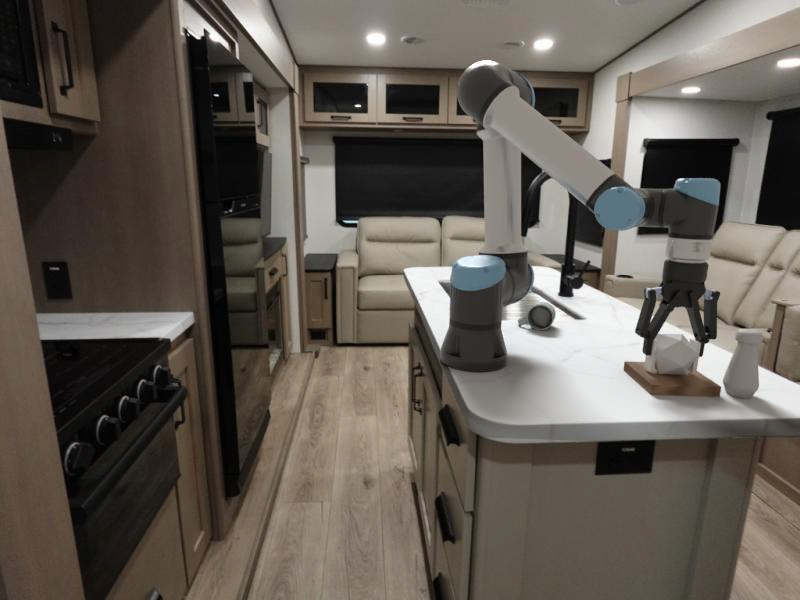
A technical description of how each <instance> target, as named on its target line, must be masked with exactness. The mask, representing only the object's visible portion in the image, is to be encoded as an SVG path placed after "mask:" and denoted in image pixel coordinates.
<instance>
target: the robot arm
mask: <svg viewBox="0 0 800 600" xmlns="http://www.w3.org/2000/svg"><path fill="white" fill-rule="evenodd" d="M457 83H458V84H457V89H456V95H457V101H458V103H459V106H460V108H461V109H462V111H463V112H464V113H465V114H466V115H467V116H469V117H470V118H471V119H473V120H474V121H476V124H475V125H476V126H475V127H476V135H477V136H478V138H480V139H481V140H482V142H483V143H482V145H483V149H482V151H483V154H482V155H483V196H484V197H483V205H484V206H483V207H484V208H483V209H484V210H483V211H484V212H483V214H484V217H483V218H484V244H483V245H482V247H481V248H479V250H478V254H476V255H473V256H470V255H468V256H463V257H460V258H458V259H457V260H455V261H454V262H453V264H452V267H451V274H450V277H449V278H450V279H449V282H450V290H449V291H450V295H449V297H450V298H449V320H448V321H449V322H448V328H447V330H446V333H445V337H444V339H443V342H442V344H441V347H440V351H439V352H440V354H439V355H440V356H439V357H440V358H439V359H440V361H441V363H442V364H444V365H446V366H448V367H450V368H452V369H456V370H462V371H467V372H468V371H469V372H490V371H497V370H500V369H503V368H504V367H506V366H507V364H508V351H507V347H506V346H507V345H506V343H505V339H504V335H503V332H502V320H503V308H505V307H507V306H511V305H512V304H516V303H518V302H520V301H521V300H523V299H524V298H525V297H526V296H527V295H529V293H530V292H531V290H532V289H533V285H534V283H535V271H534V269H533V266H532V265H531V263H530V262H529V259H528V258H529V257H528V253H529V252H528V250H529V249H528V248H527V247H526V246H525V245H524V244H523V243H522V154H523V155H524V156H525V157H526V158H528V159H529V160H531V162H533V163H534V164H535V165H536V166H538V167H539V169H541V170H542V171H543V172H545V173H546V174H547V175H548V176H549V177H550V178H552V179H553V180H555V182H557V184H558V185H560V186H561V187H563V188H564V189H565V190H566V191H567V192H568V193H570V194H571V195H572V196H573V197H574V198H575V199H576V200H578V201H579V202H580V203H582V204H583V205H584V206H585V207H586V208H588V210H589V211H590V212H592V213H593V215H594V217H595V219H596V221H597V222H598V223H599V225H601V226H602V227H603V228H605V229H606V230H611V231H612V232H613V231H614V232H615V231H616V232H618V231H619V232H623V231H628V230H632V228H637V227H642V228H643V227H645V228H663V229H664V228H668V235H667V240H666V247H665V254H664V257H666V258H667V259H665V260H664V262H663V268H662V277H661V278H662V281H661V283H660V284H659V286H657V287H649V286H646V287H645V288H644V289H643V295H644V296H643V297H644V300H643V303H642V306H641V308H640V309H641V310H640V313H639V316H638V320H637V323H636V327H635V329H634V330H635V331H634V333H635V334H636V335H637V336H638V337H640V338H643V343H642V353H643V354H644V355H645V360H644V362H645V366H644V368H646V369H647V370H648V371H649V372H654V369H655V362H656V358H655V354H654V353H655V351H656V349H657V348H658V341H656V340H655V338H656V336H657V334H660V332H661V329H662V327H663V326H664V324H665V322H666V320H667V319H668V317H669V315H670V314H671V313H672V312H673V311H674V310H675V309H676V308H682V307H683V308H685V309H686V312H687V315H688V318H689V319H688V320H689V323H690V327H691V329H692V334H693V337H694V338H689V340H688V341H689V343H690V344H691V345H692V346H693V348H694V349H695V350H696V351H697V352H698V356H697V357H696V359H695V360H694V362H693V363H692V365H691V366H690V368H689V369H688V371H689V372H691V373H692V374H696V371H698V364H699V359H700V358H702V357H703V355H704V351H705V345H706V344H708V343H710V340H716V339H717V337H718V302H719V299H720V297H721V292H720V291H719V290H716V289H712V288H709V289H708V288H706V284H705V282H706V280H707V277H708V271H709V267H710V266H709V265H710V264H708V263H709V262H707V260H709V259H710V257H711V250H712V245H713V240H714V233H715V228H716V222H717V218H718V217H717V216H718V213H719V212H718V211H719V206H720V195H721V182H720V180H718V179H715V178H711V177H708V178H707V177H705V178H703V177H698V178H697V177H695V178H694V177H693V178H691V177H690V178H688V177H687V178H686V177H685V178H683V177H682V178H681V177H680V178H678V179H676V180H675V182H674V183H675V184H674V186H673V188H644V187H643V188H641V187H639V188H638V187H633V186H632V185H630V183H628V182H627V181H626V180H625V179H623V178H621V177H620V176H619V175H618V174H616V173H615V172H614V171H613V170H612V169H610V168H609V166H607V165H605V164H604V163H603V162H602V161H600V160H599V159H598V158H597V157H595V156H594V155H593V154H591V152H589V150H587V149H585V148H584V146H581V144H579V143H578V142H576V141H575V140H574V139H573V138H572V137H570V136H569V135H568V134H566V133H565V132H564V131H563V130H561V128H560V127H558V126H556V125H555V124H554V123H553V122H551V120H549V119H548V118H547V117H545V116H544V115H542V113H540V112H539V111H538V110H536V109H535V103H536V96H535V91H534V88H533V85H532V84H531V83H530V81H529V80H528V79H527V78H526V77H525V76H524V75H523V74H521V73H520V72H518V71H516V70H513V69H509V67H506V66H504V65H502V64H500V63H499V62H497V61H493V60H481V61H477V62H475V63H473V64H472V65H470V66H468V67H467V68H466V69H464V72H463V73H462V74H461V76H460V78H459V80H458V82H457ZM660 294H661V296H662V299H661V301H660V303H659V304H658V305H659V306H658V308H657V310H656V312H655V314H654V311H655V308H656V304H657V299H658V298H659V295H660ZM701 298H703V299H704V300H703V318H702V315H701V311H700V310H701V306H700V303H699V300H700V299H701ZM653 314H654V315H653Z"/></svg>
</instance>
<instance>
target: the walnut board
mask: <svg viewBox="0 0 800 600" xmlns="http://www.w3.org/2000/svg"><path fill="white" fill-rule="evenodd" d="M623 362H624V363H623V371H624V372H625V373H626V374H627V375H628V376H629V377H630V378H632V379H633V380H634V381H635V382H636V383H637V384H639V386H641V387H642V388H643V389H644V390H645V391H646V392H648V394H650V395H655V396H656V395H657V396H659V395H660V396H685V397H686V396H687V397H688V396H690V397H691V396H692V397H717V398H718V397H721V392H722V385H721V386H720V384H718V383H716V382H715V381H713V380H711V379H710V378H709V377H707V376H706V375H704V374H702V373H701V372H700V371H698V370H697V371H696V374H692V373H691V372H689V371H687V372H686V374H685V375H680V374H659V373H658V371H657V370H656V369H654V372H649V371H648V370H647V369H646V368H644V366H645V361H623Z"/></svg>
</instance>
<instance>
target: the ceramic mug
mask: <svg viewBox="0 0 800 600" xmlns="http://www.w3.org/2000/svg"><path fill="white" fill-rule="evenodd" d="M555 319H556V310H555V307H554V306H553V305H552V304H551V303H549V302H546V301H540V302H537V303H535V304H533V306H531V307H530V308H529V309H528V311H527V313H526V315H525V316H523V317H520V318H518V320H517V323H518V325H519V326H522V325H523V326H525V325H527V324H528V325H529V327H530V328H532V329H534V330H536V331H545V330H547V329H549V328H550V327H552V325H553V323H554V320H555Z"/></svg>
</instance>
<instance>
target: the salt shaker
mask: <svg viewBox="0 0 800 600" xmlns="http://www.w3.org/2000/svg"><path fill="white" fill-rule="evenodd" d="M734 337H735V338H734V339H735V341H737V344H736V346H735V349H734V351H733V354H732V356H731V358H730V361H729V362H728V366H727V368H726V371H725V373H724V375H723V378H722V383H723V387H724V390H725V393H727V394H728V395H730V396H731V397H734V398H735V397H736V398H739V399H751V398H753V396H754V395H755V393H756V392H757V391H758V390H759V388H760V381H759V380H760V377H759V346H758V345H762V343H763V340H764V334H763V332H761V331H759V330H756V329H754V328H753V329H752V328H739V329H738V330H737V331H736V332H735V335H734Z"/></svg>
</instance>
